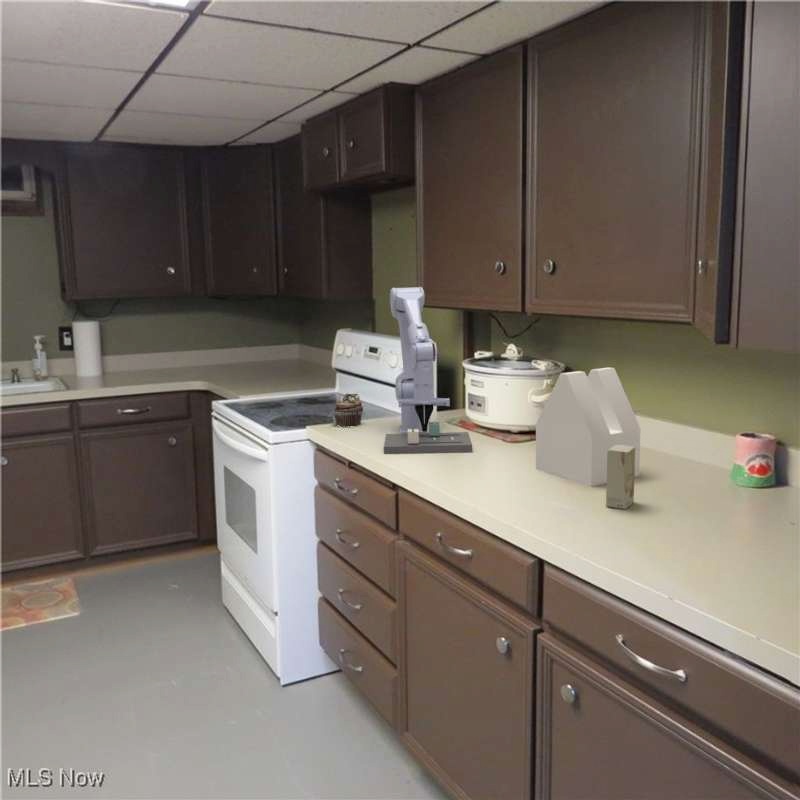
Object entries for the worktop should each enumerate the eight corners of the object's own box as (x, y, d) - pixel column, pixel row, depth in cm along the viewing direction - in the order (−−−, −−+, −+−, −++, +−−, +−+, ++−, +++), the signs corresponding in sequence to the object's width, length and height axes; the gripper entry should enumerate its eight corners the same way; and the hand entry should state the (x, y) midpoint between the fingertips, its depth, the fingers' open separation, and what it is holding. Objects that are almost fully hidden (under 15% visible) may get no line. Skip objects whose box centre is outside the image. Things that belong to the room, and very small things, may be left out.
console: (386, 440, 226) (385, 433, 226) (468, 438, 226) (468, 431, 225) (384, 454, 210) (383, 446, 210) (472, 452, 210) (472, 444, 210)
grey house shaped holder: (535, 468, 192) (536, 369, 188) (581, 459, 200) (583, 363, 195) (591, 487, 176) (593, 378, 171) (639, 476, 183) (642, 372, 179)
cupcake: (338, 421, 256) (337, 391, 254) (366, 421, 254) (365, 391, 252) (330, 427, 246) (328, 396, 245) (359, 428, 244) (358, 396, 243)
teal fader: (429, 432, 224) (428, 421, 223) (439, 432, 224) (439, 421, 223) (429, 435, 220) (429, 424, 219) (439, 435, 220) (439, 424, 219)
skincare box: (626, 510, 159) (627, 452, 157) (605, 507, 161) (606, 450, 159) (634, 501, 164) (636, 445, 162) (614, 498, 167) (615, 443, 164)
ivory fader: (407, 440, 215) (407, 428, 215) (418, 440, 215) (418, 428, 215) (407, 443, 211) (407, 431, 211) (418, 443, 211) (418, 431, 211)
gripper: (397, 387, 216) (399, 434, 218) (449, 385, 215) (450, 433, 218) (398, 383, 223) (399, 429, 225) (448, 381, 222) (449, 428, 225)
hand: (424, 430), depth 222 cm, fingers closed
